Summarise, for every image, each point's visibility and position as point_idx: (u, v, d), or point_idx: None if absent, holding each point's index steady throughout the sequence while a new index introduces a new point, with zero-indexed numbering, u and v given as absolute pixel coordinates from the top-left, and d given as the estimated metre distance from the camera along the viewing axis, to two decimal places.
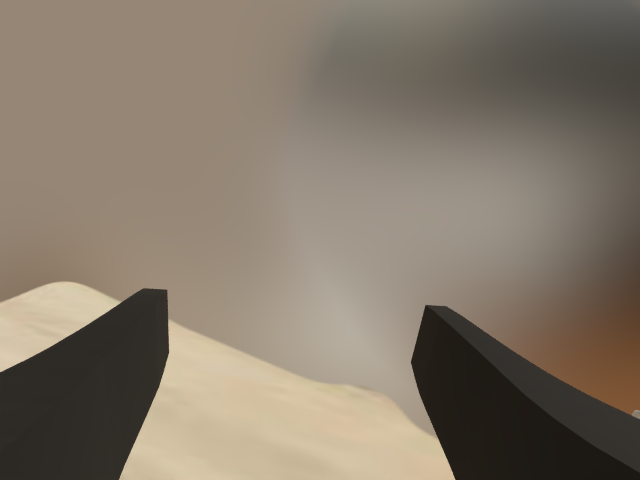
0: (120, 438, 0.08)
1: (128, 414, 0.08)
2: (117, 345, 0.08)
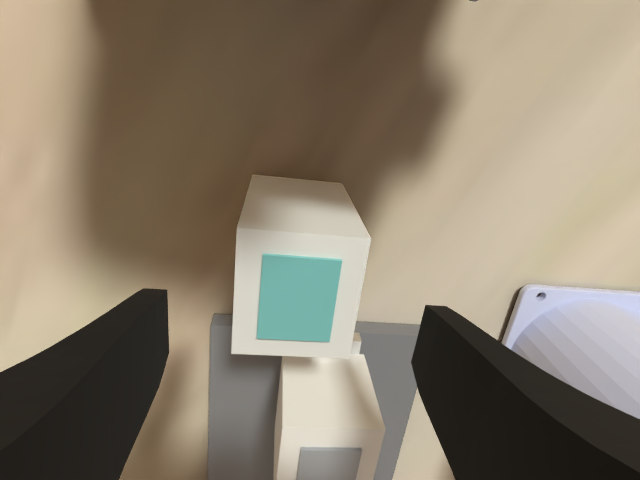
0: (120, 438, 0.08)
1: (128, 414, 0.08)
2: (117, 345, 0.08)
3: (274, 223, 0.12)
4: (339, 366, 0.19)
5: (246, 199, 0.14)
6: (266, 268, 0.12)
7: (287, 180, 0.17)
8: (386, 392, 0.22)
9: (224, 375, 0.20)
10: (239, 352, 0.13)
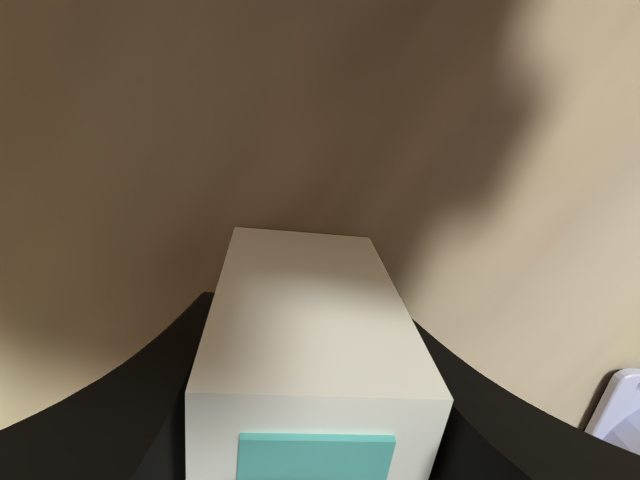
0: None
1: None
2: None
3: (263, 364, 0.06)
4: None
5: (217, 292, 0.08)
6: (247, 460, 0.06)
7: (287, 237, 0.11)
8: None
9: None
10: None
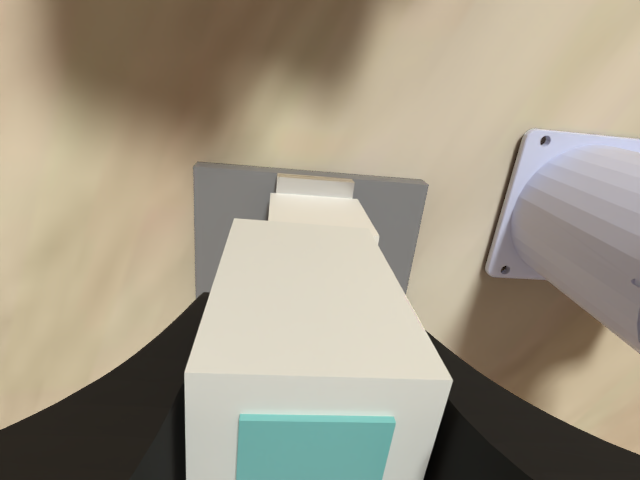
0: None
1: None
2: None
3: (262, 347, 0.06)
4: (331, 203, 0.17)
5: (216, 279, 0.08)
6: (247, 442, 0.06)
7: (287, 228, 0.11)
8: (383, 253, 0.21)
9: (210, 229, 0.19)
10: None
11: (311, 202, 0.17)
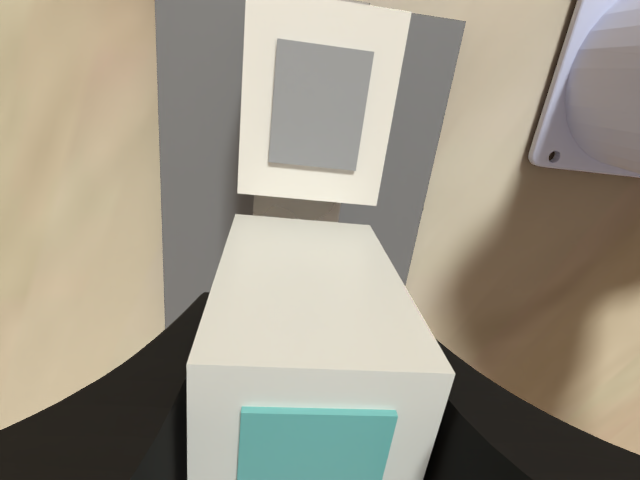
0: None
1: None
2: None
3: (265, 340, 0.06)
4: None
5: (218, 273, 0.08)
6: (248, 435, 0.06)
7: (288, 224, 0.11)
8: (402, 121, 0.16)
9: (178, 72, 0.15)
10: None
11: None
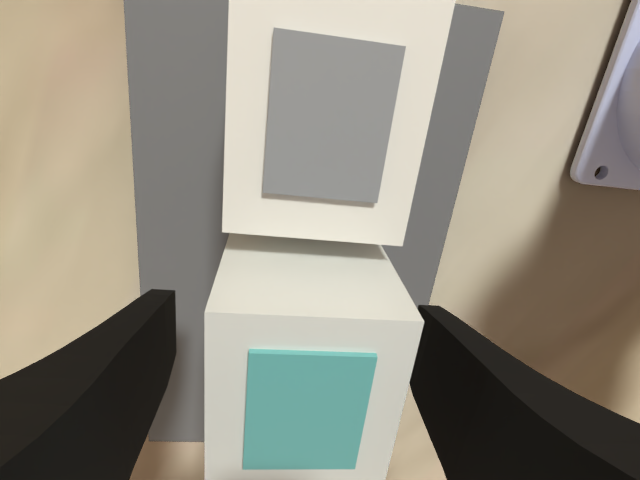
0: (130, 438, 0.08)
1: (138, 414, 0.09)
2: (128, 346, 0.08)
3: (267, 296, 0.08)
4: None
5: (227, 247, 0.10)
6: (255, 372, 0.07)
7: None
8: None
9: (153, 74, 0.12)
10: None
11: None
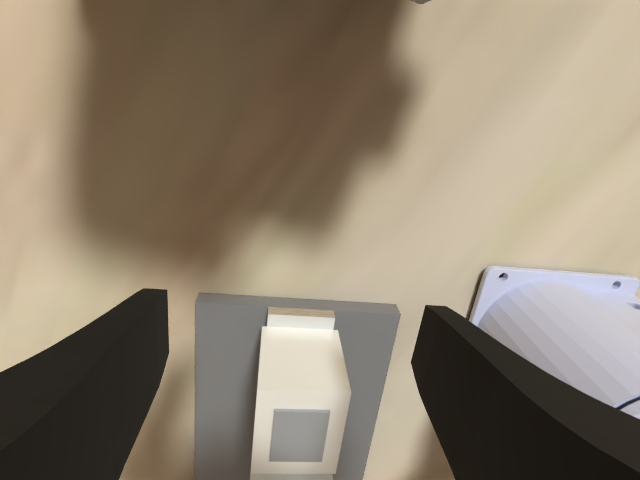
0: (120, 438, 0.08)
1: (128, 414, 0.08)
2: (117, 345, 0.08)
3: None
4: (314, 340, 0.20)
5: None
6: None
7: None
8: (360, 367, 0.23)
9: (209, 350, 0.22)
10: None
11: (297, 340, 0.20)
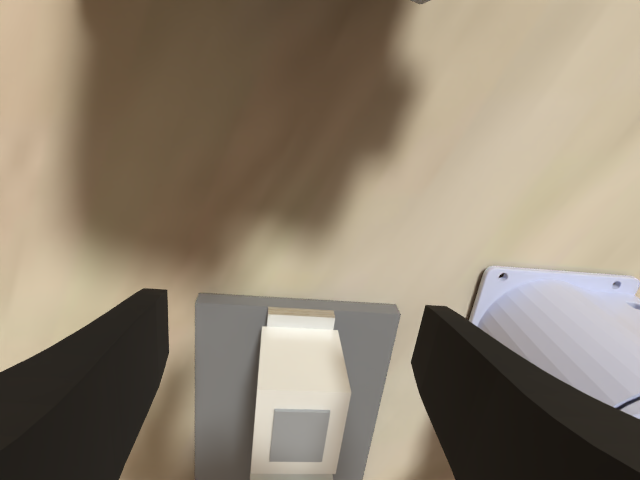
0: (120, 438, 0.08)
1: (128, 414, 0.08)
2: (117, 345, 0.08)
3: None
4: (313, 340, 0.20)
5: None
6: None
7: None
8: (360, 367, 0.23)
9: (209, 350, 0.22)
10: None
11: (296, 340, 0.20)
